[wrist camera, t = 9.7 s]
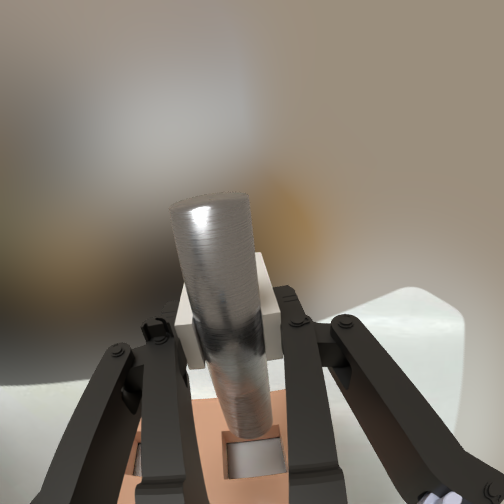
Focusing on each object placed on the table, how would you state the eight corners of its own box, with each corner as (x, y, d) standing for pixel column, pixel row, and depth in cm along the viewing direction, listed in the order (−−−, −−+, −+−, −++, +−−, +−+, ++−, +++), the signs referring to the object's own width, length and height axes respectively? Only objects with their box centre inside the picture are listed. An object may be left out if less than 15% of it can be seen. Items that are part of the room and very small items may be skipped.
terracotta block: (103, 511, 12) (88, 504, 11) (123, 412, 24) (114, 399, 23) (327, 511, 13) (332, 505, 12) (297, 401, 25) (297, 386, 24)
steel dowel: (228, 441, 14) (161, 217, 9) (226, 406, 17) (175, 199, 11) (276, 435, 14) (252, 203, 9) (269, 400, 17) (245, 188, 11)
